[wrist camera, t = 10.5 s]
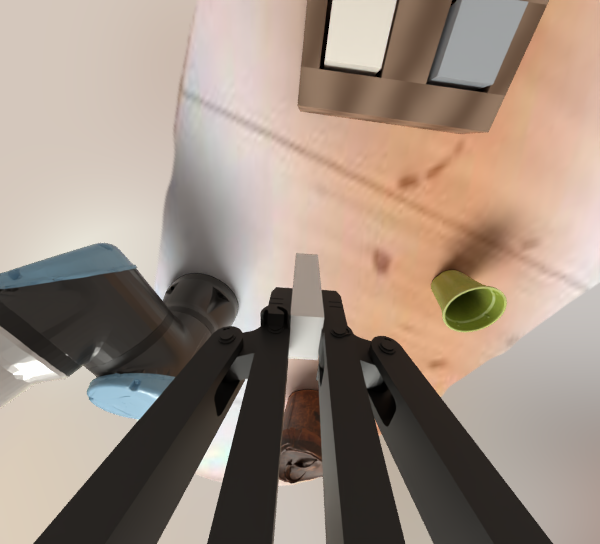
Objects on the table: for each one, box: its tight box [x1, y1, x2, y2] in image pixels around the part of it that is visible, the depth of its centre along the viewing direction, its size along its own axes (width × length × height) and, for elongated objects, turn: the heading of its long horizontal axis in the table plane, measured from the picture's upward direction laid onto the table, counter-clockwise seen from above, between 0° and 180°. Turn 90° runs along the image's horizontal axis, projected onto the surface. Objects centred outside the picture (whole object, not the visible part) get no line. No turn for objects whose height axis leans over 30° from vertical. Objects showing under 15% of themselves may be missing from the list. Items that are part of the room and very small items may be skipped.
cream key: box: [324, 0, 397, 77], centre depth 24 cm, size 6×6×4 cm
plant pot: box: [431, 270, 507, 332], centre depth 40 cm, size 9×9×9 cm
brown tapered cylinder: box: [279, 390, 323, 483], centre depth 59 cm, size 18×20×18 cm
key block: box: [298, 0, 549, 134], centre depth 26 cm, size 23×14×6 cm, turn 83°
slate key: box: [426, 0, 528, 91], centre depth 24 cm, size 6×6×4 cm
